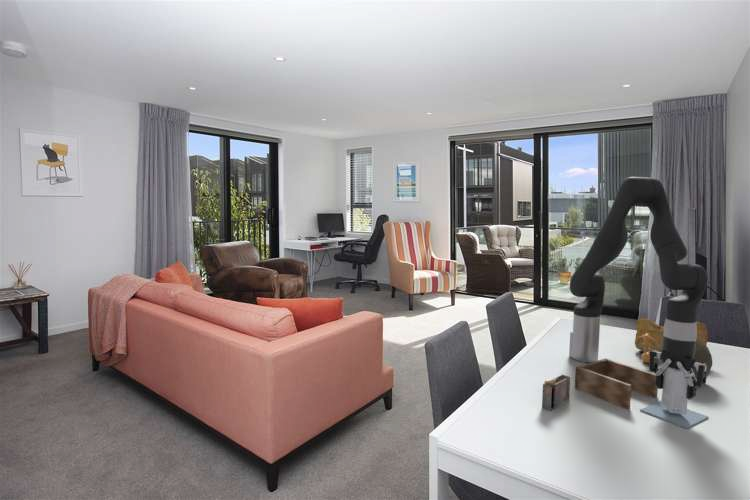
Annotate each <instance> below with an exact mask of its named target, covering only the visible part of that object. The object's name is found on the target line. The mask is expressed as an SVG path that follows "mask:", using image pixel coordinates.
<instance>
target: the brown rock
mask: <svg viewBox="0 0 750 500" xmlns="http://www.w3.org/2000/svg"><path fill="white" fill-rule="evenodd" d="M662 346H663V345H662ZM662 346H661V349H660V352H661V353H662V351H663V349H662ZM660 358H661V357H660ZM694 359H695V361H696V362H698V363H701V364H704V363H706V364H707V365H708V370H707V377H708V376H709V375H710V373H711V369H712V367H713V357H712V353H711V351H710V349H709V347H708V346H707V345H705V344H704V343H703V342H702V341H701V340H699V339H697V338H696V347H695V356H694ZM661 361H662V365H663V364H664V362H663V360H662V358H661ZM692 370H693V372H694V374H695V378H696V380H697V374H698V371H697V370H696V367H695V366H694V367H692Z"/></svg>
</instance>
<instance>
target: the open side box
mask: <svg viewBox="0 0 750 500" xmlns="http://www.w3.org/2000/svg"><path fill="white" fill-rule="evenodd" d="M574 389H576V390H579V391H581V392H583V393H585V394H588V395H591V396H594V397H596V398H598V399H601V400H604V401H606V402H609V403H612V404H613V405H616V406H619V407H621V408H624V409H626V410H628V409H631V396H632V390H633V391H635V392H637V393H640V394H643V395H647V396H648V397H652V398H657V397H658V392H659V389H658V388H657V386H656V374H655V373H654V372H651V371H649V370H644V369H641V368H638V367H634V366H631V365H629V364H625V363H622V362H620V361H616V360H612V359H608V358H602V359H598V361H595V362H587V363H585V364H582V365H579V366H576V367H575V379H574Z"/></svg>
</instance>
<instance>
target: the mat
mask: <svg viewBox="0 0 750 500" xmlns="http://www.w3.org/2000/svg"><path fill="white" fill-rule="evenodd" d="M661 402H662V400H659V401H658V402H655V403H652V404H649V405H648V406H645V407H643V408H641V409H640V410H639V411H640V412H642V413H645V414H647V415H650V416H653V417H655V418H658V419H660V420H663V421H665V422H668V423H671V424H673V425H676V426H679V427H680V428H684V429H686V430H688V429H690V428H691V427H694V426H695V425H698V424H699V423H701V422H703V421H705V420H708V419H709V418H710V417H709V415H707V414H706V415H705V414H702V413H700V412H697V411H694V410H692V409H688V408H687V414H680V413H670V412H669V411H668V410H667V409H666V408H665V407H664V406H663V405H662V404H661Z"/></svg>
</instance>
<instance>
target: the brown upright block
mask: <svg viewBox="0 0 750 500" xmlns="http://www.w3.org/2000/svg"><path fill="white" fill-rule="evenodd" d="M570 390H571V376H569V375H567V374H566V375H565V374H560V375H558V376H556V377H554V378H552V379H550V380H544V383H542V396H541V397H542V399H541V409H543V410H546V411H548V412H552V409H554V410H555V409H557V408H558V407H560V406H561V405H563V404H565V403H567V402H568V401H570V394H571V393H570Z"/></svg>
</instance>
